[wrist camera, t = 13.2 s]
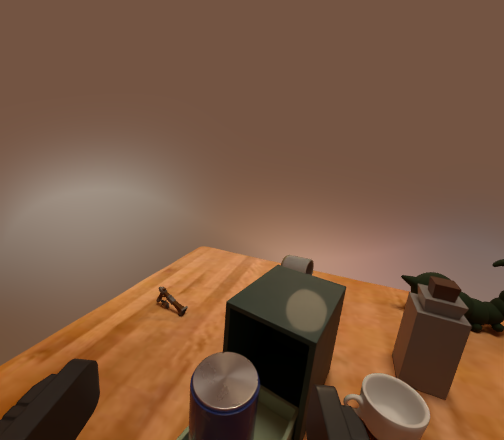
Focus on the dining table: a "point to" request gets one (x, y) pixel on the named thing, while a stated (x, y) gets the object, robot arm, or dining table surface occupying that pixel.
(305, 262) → the ceramic mug
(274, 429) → the drawer
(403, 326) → the perfume bottle
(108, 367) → the dining table surface
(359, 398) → the teacup
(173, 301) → the dark brown angled piece
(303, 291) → the cubby
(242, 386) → the navy can
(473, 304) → the toy figurine
